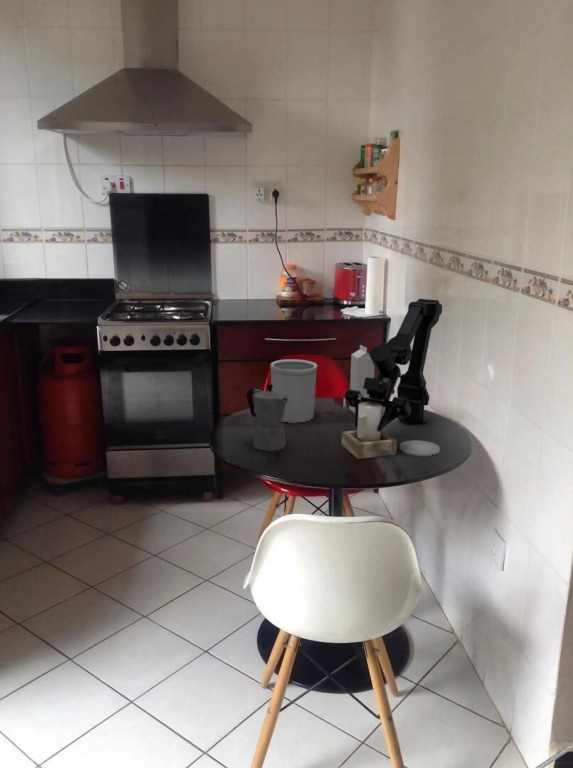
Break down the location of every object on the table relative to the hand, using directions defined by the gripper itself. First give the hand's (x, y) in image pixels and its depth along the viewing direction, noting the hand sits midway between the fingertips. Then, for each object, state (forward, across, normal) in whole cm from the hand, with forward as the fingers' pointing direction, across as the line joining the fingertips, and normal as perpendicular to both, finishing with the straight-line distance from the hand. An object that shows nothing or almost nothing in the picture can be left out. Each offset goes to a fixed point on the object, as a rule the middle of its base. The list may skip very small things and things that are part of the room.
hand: (367, 428), depth 184 cm
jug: (+5, 0, +5) cm, 7 cm away
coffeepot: (+13, -26, -3) cm, 29 cm away
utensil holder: (-6, -34, +16) cm, 38 cm away
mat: (-2, +12, +12) cm, 17 cm away
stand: (+4, 0, +6) cm, 7 cm away
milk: (-19, -19, +29) cm, 40 cm away
